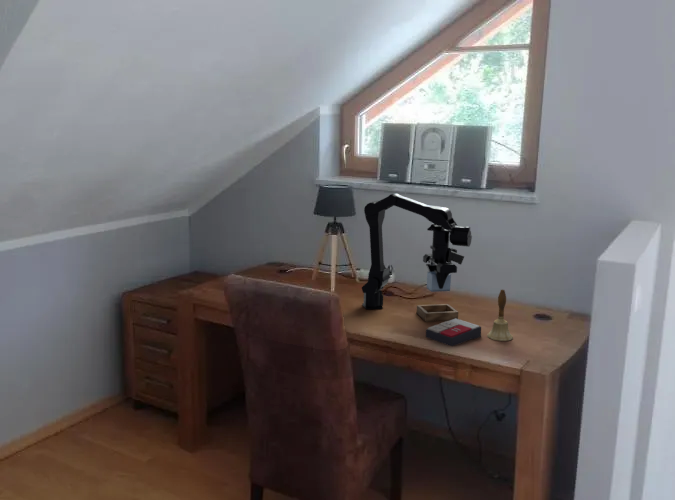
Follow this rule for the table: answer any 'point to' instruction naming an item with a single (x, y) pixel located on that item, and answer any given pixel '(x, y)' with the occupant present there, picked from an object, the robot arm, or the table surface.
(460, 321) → the grey and red box
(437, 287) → the small crate
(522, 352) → the table surface
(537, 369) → the table surface
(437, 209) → the robot arm
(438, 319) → the walnut crate
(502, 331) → the hand bell
